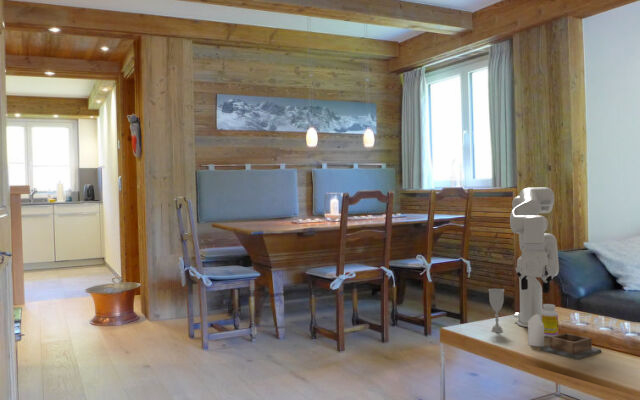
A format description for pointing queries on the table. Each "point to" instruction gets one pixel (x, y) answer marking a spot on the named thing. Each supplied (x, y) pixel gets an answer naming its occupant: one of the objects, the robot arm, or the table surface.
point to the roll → (535, 331)
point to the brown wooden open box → (571, 346)
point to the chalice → (496, 305)
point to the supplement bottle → (549, 320)
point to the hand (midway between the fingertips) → (535, 290)
